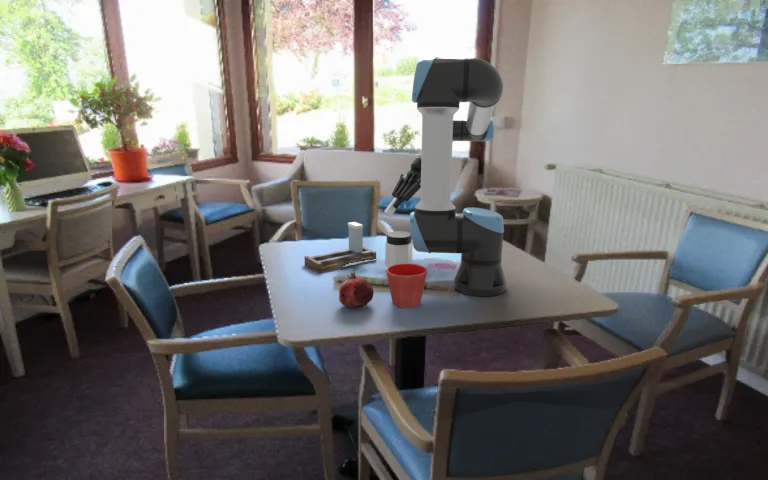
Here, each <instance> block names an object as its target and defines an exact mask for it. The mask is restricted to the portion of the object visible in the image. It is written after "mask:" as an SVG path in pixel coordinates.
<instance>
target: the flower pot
mask: <svg viewBox="0 0 768 480" xmlns="http://www.w3.org/2000/svg"><path fill="white" fill-rule="evenodd" d="M385 271H386V277H387V281H388V282H387V283H388V287H389V288H388V289H389V292H390V297H391V302H392V304H393V305H394V306H396V307H398V308H405V309H411V308H415V307H418V306H420V305H421V302H422V298H423V295H424V294H423V293H424V290H425V285H426V279H427V274H428V269H427V268H426V267H425V266H423V265H420V264H415V263H412V264H397V265H393V266H390V267H388V268H387V270H385Z"/></svg>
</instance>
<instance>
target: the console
mask: <svg viewBox="0 0 768 480" xmlns="http://www.w3.org/2000/svg"><path fill="white" fill-rule="evenodd" d="M351 251H352V250H349V248H348V249H347V248H346V249H343V250H338V251H334V252H333V251H332V252H328V253H323V254H317V255H312V256H308V255H305V256H304V266H306V267H308V268H309V269H311V270H313V272H316V273H317V274H320V273H325V272H331V271H335V270H338V269H343V268H342V267H343V266H345V265H346V264H349V263H354V262H359V261H365V260H373V259H376V260H377V252H376V251H374V250H373V249H369V248H367V247H365V246H363V252H359V253H354V254H351Z"/></svg>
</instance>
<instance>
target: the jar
mask: <svg viewBox="0 0 768 480" xmlns="http://www.w3.org/2000/svg"><path fill="white" fill-rule="evenodd" d="M384 246H385V248H384V249H385V253H384V255H385V259H384V260H385V267H387V268H388V267H390V266H393V265H397V264H413V249H414V247H413V243H412V237H411V232H408V231H403V230H402V231H401V230H397V231H396V230H395V231H390V232H387V233H386V242H385V244H384Z"/></svg>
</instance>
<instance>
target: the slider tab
mask: <svg viewBox="0 0 768 480" xmlns="http://www.w3.org/2000/svg"><path fill="white" fill-rule="evenodd" d="M347 226H348V249H349V250H352V251H351V254H354V253H359V252H363V247H364V245H363V242H364V241H363V240H364V239H363V228H364V224H362V223H359V222H357V221H352V222H347Z"/></svg>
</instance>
